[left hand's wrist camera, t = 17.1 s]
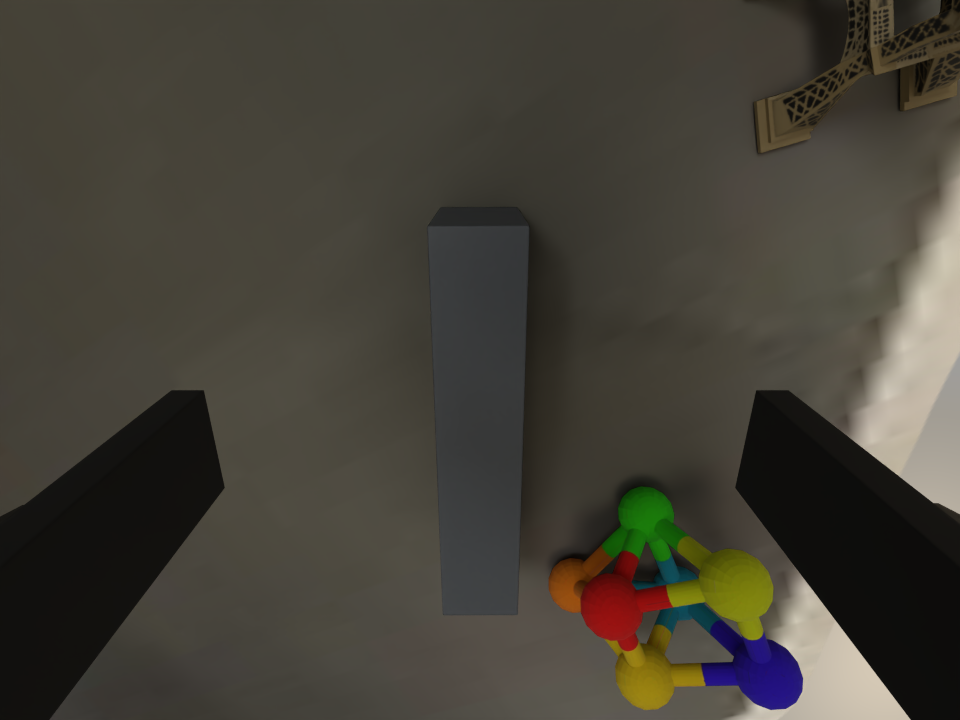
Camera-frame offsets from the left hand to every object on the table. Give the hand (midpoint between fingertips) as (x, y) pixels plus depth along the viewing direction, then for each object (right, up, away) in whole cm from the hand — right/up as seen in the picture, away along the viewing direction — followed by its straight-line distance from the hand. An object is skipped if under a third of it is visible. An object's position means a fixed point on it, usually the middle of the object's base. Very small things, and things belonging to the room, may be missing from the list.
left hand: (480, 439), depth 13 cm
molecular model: (+12, -12, +28) cm, 33 cm away
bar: (0, 0, +23) cm, 23 cm away
